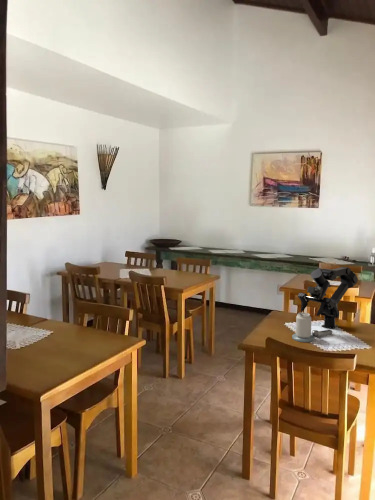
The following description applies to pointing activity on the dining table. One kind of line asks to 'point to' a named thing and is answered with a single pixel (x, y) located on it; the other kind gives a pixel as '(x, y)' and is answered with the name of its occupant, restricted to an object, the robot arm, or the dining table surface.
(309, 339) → the pad
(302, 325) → the can
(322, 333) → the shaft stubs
